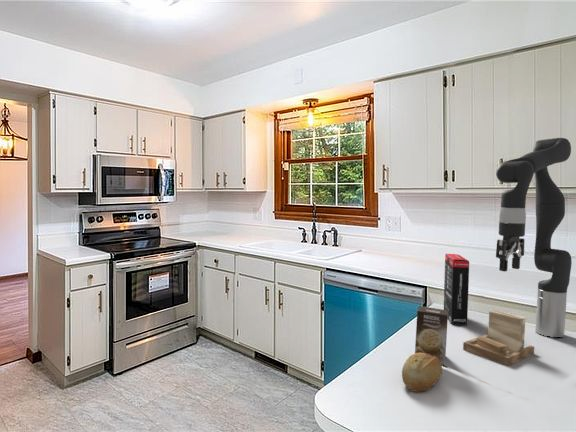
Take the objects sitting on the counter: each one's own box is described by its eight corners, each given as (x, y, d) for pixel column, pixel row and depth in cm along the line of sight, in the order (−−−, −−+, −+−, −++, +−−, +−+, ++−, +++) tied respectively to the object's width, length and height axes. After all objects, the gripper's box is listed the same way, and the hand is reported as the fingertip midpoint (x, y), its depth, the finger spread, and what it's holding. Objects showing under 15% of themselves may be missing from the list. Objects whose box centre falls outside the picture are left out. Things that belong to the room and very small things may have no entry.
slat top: (484, 342, 125) (484, 337, 125) (506, 352, 118) (506, 345, 118) (477, 344, 124) (477, 338, 124) (498, 353, 116) (499, 347, 116)
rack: (489, 342, 135) (490, 333, 134) (533, 357, 123) (534, 346, 123) (462, 352, 125) (463, 342, 125) (508, 369, 113) (508, 358, 113)
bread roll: (447, 378, 106) (448, 351, 106) (432, 400, 94) (433, 369, 94) (413, 368, 112) (414, 342, 112) (395, 388, 100) (396, 358, 100)
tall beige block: (492, 346, 132) (494, 309, 131) (523, 356, 123) (525, 317, 123) (487, 348, 130) (489, 311, 129) (518, 358, 121) (520, 319, 121)
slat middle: (480, 348, 126) (480, 342, 125) (508, 358, 118) (508, 351, 118) (473, 350, 123) (473, 344, 123) (501, 360, 116) (502, 354, 116)
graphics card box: (468, 326, 152) (471, 259, 151) (450, 324, 153) (453, 258, 152) (457, 314, 169) (460, 254, 167) (441, 312, 170) (444, 253, 169)
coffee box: (413, 360, 117) (415, 310, 117) (415, 353, 123) (418, 305, 123) (445, 367, 114) (447, 315, 113) (446, 359, 119) (448, 309, 119)
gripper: (510, 220, 132) (508, 266, 132) (489, 221, 123) (487, 269, 124) (534, 222, 125) (531, 270, 126) (513, 222, 117) (511, 273, 118)
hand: (509, 269), depth 125 cm, fingers open, 8 cm apart
